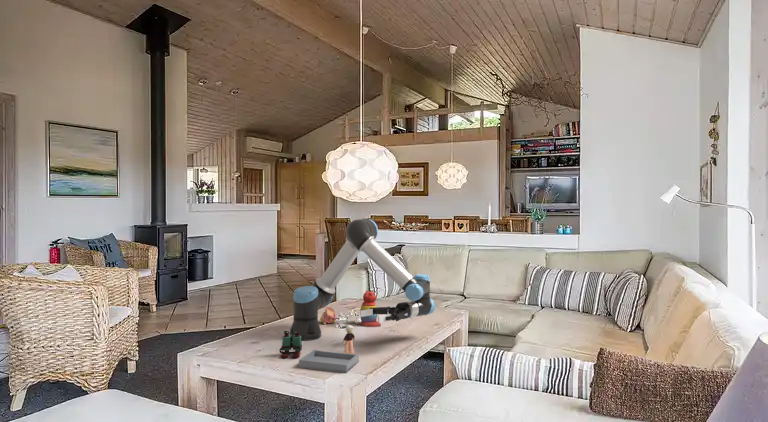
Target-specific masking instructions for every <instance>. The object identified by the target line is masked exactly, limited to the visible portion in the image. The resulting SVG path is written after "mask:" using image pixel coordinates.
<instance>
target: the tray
mask: <svg viewBox="0 0 768 422" xmlns="http://www.w3.org/2000/svg"><path fill="white" fill-rule="evenodd" d="M359 357H360V356H359V354H355V353H353V354H348V353H345V352H338V351H328V350H317V349H313V350H311V351H310V352H309V353H307V354H306V355H304V356H303V357H301V358H300V359H299V361H298V368H301V369H309V370H310V369H312V370H317V371H318V370H319V371H326V372H334V373H343V372H344V373H345V374H347V373H348V372H349V371H351V370H352V369H353V368H354V367H355V366H357V364H358V363H359V362H360V360H359V359H360V358H359ZM344 373H343V374H344Z"/></svg>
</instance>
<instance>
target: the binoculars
mask: <svg viewBox="0 0 768 422" xmlns="http://www.w3.org/2000/svg"><path fill="white" fill-rule="evenodd" d="M299 333H300V331H296V332H295V335H293V339H292V335H290V331H288V330H284V331H283V334H284V335H283V336H282V339H281V340H282V341H281V342H282V343H281V347H280V348H279V353H280V358H281V359H283V360H287V359H289V357H290V355H291V358H292V360H293V359H294V360H297V359H299V358H300V357H301V354H302V352H301V351H302V349H303V344H302V343H303V342H302V340H301V336H300V335H299ZM291 350H292V351H291Z"/></svg>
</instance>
